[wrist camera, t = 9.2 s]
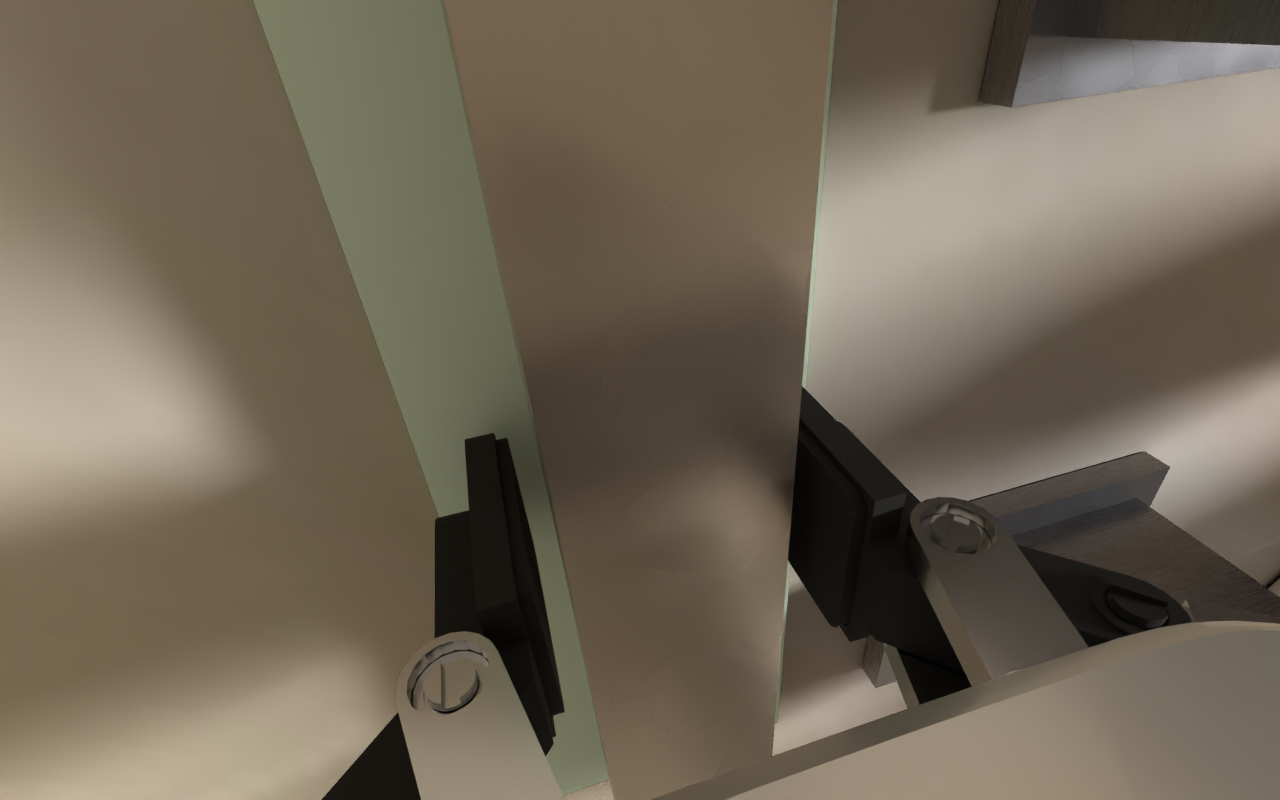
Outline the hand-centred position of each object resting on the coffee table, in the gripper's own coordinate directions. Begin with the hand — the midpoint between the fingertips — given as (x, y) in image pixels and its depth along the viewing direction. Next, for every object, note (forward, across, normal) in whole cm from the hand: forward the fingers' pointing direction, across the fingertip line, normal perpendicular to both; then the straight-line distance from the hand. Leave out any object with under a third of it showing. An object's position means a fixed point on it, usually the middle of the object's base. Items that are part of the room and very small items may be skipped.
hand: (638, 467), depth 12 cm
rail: (+1, 0, 0) cm, 1 cm away
